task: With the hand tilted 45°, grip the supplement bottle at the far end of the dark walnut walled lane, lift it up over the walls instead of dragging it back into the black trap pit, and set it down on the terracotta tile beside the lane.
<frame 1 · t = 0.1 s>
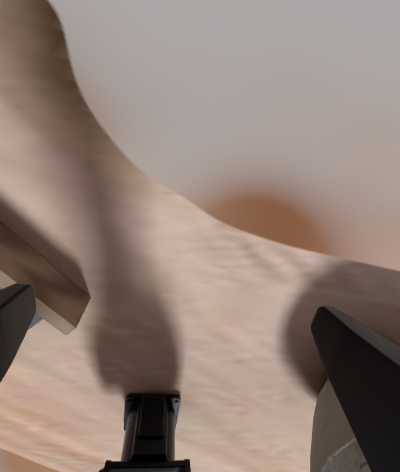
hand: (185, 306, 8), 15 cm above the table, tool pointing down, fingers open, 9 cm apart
ceramic bowl: (357, 376, 34), on the table
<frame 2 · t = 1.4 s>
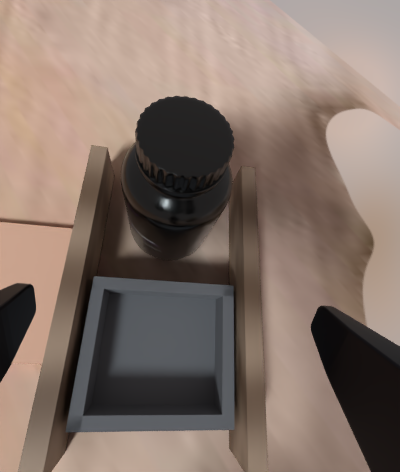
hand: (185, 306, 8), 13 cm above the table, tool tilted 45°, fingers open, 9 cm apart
supplement bottle: (169, 226, 24), on the table
trap pit: (159, 346, 20), on the table
walled lane: (164, 293, 21), on the table
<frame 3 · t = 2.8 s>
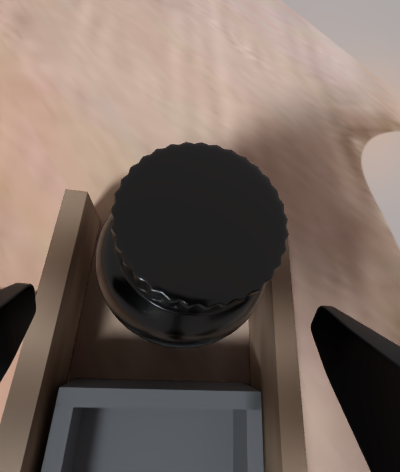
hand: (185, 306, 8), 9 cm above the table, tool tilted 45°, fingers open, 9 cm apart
supplement bottle: (171, 289, 18), on the table
walled lane: (162, 389, 15), on the table
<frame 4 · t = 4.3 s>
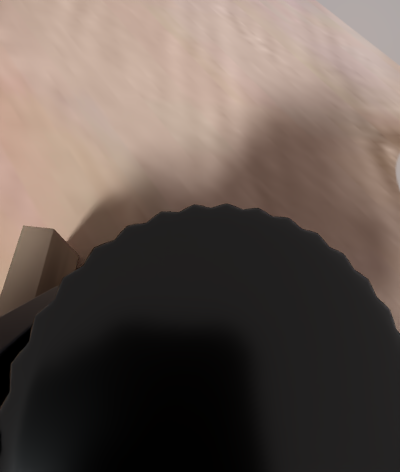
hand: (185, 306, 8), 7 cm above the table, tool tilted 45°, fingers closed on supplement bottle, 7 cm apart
supplement bottle: (168, 345, 14), on the table, touching gripper
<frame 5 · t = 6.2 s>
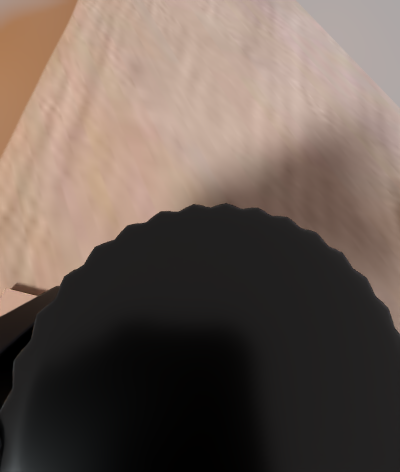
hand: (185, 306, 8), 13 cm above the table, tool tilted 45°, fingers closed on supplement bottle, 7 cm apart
supplement bottle: (170, 344, 14), point 6 cm above the table, touching gripper
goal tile: (47, 378, 18), on the table
when the fingers open (8 cm above the table, at t = 8.5 s): supplement bottle stays where it is, resting on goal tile.
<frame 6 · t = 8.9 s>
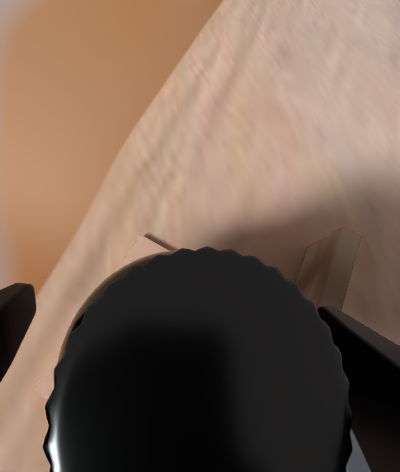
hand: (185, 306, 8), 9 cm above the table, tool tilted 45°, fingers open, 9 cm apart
supplement bottle: (168, 348, 15), resting on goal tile
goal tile: (166, 344, 16), on the table
walled lane: (355, 446, 15), on the table
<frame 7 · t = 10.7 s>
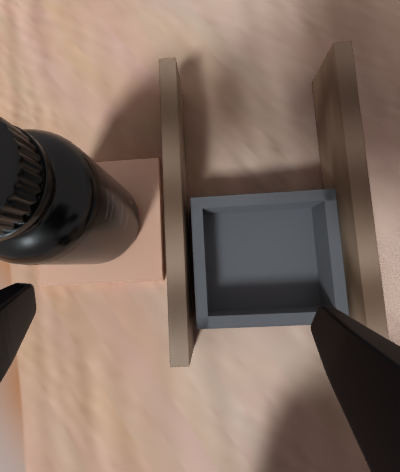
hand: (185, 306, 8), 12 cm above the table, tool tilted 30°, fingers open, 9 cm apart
supplement bottle: (102, 222, 21), resting on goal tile
trap pit: (259, 258, 21), on the table
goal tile: (102, 222, 22), on the table
walled lane: (255, 209, 21), on the table
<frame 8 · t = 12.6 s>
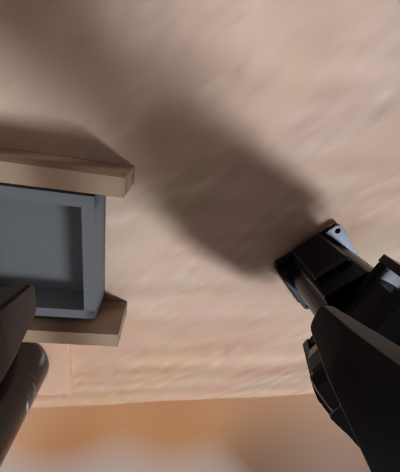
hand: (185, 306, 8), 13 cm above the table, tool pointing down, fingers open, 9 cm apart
supplement bottle: (14, 356, 25), resting on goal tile
trap pit: (46, 240, 21), on the table
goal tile: (16, 353, 25), on the table
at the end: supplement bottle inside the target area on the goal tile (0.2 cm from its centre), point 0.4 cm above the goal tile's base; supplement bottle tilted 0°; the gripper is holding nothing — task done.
